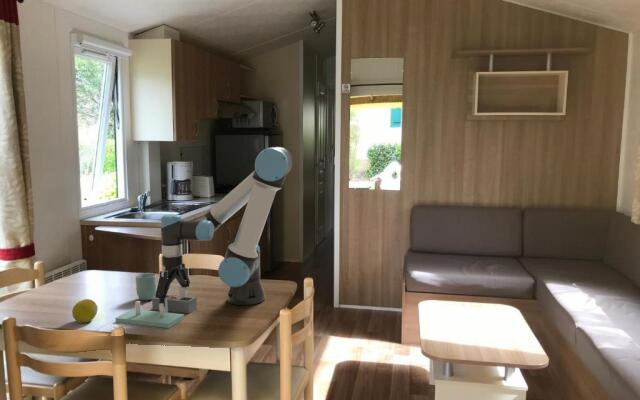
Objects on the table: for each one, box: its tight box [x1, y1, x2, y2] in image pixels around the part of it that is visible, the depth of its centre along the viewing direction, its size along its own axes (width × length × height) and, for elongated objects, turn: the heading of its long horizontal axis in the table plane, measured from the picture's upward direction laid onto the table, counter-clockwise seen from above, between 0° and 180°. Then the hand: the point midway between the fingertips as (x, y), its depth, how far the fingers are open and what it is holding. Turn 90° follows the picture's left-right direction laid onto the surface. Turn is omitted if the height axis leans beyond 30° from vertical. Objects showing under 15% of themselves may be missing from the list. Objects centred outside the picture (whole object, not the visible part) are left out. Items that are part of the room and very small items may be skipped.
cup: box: [135, 272, 158, 301], centre depth 212 cm, size 8×8×10 cm
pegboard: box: [115, 300, 185, 329], centre depth 188 cm, size 22×10×6 cm, turn 73°
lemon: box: [71, 298, 98, 324], centre depth 188 cm, size 11×8×8 cm
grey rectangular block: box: [151, 294, 198, 314], centre depth 200 cm, size 16×6×5 cm, turn 73°
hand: (174, 308), depth 200 cm, fingers open, 13 cm apart
